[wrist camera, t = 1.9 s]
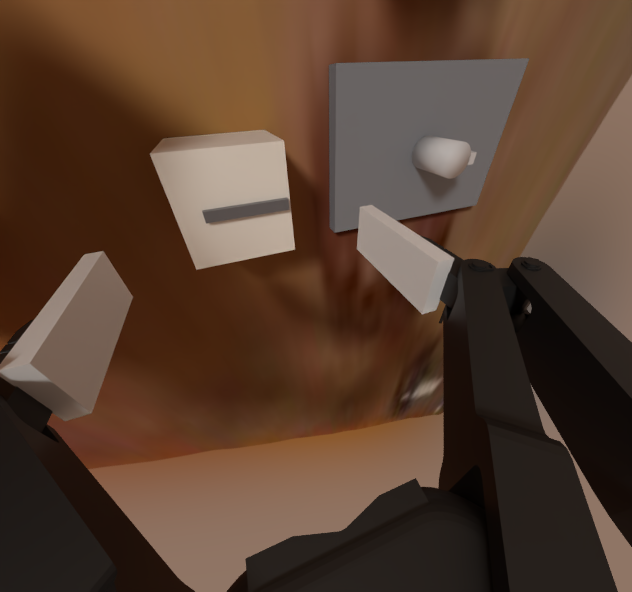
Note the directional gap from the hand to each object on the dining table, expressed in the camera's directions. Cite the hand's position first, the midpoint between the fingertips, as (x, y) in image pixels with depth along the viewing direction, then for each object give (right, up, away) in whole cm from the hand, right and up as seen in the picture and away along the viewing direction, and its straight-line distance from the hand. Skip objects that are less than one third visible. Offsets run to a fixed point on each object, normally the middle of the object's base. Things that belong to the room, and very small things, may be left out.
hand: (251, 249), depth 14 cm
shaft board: (+14, +13, +14) cm, 24 cm away
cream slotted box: (-5, +8, +9) cm, 13 cm away
